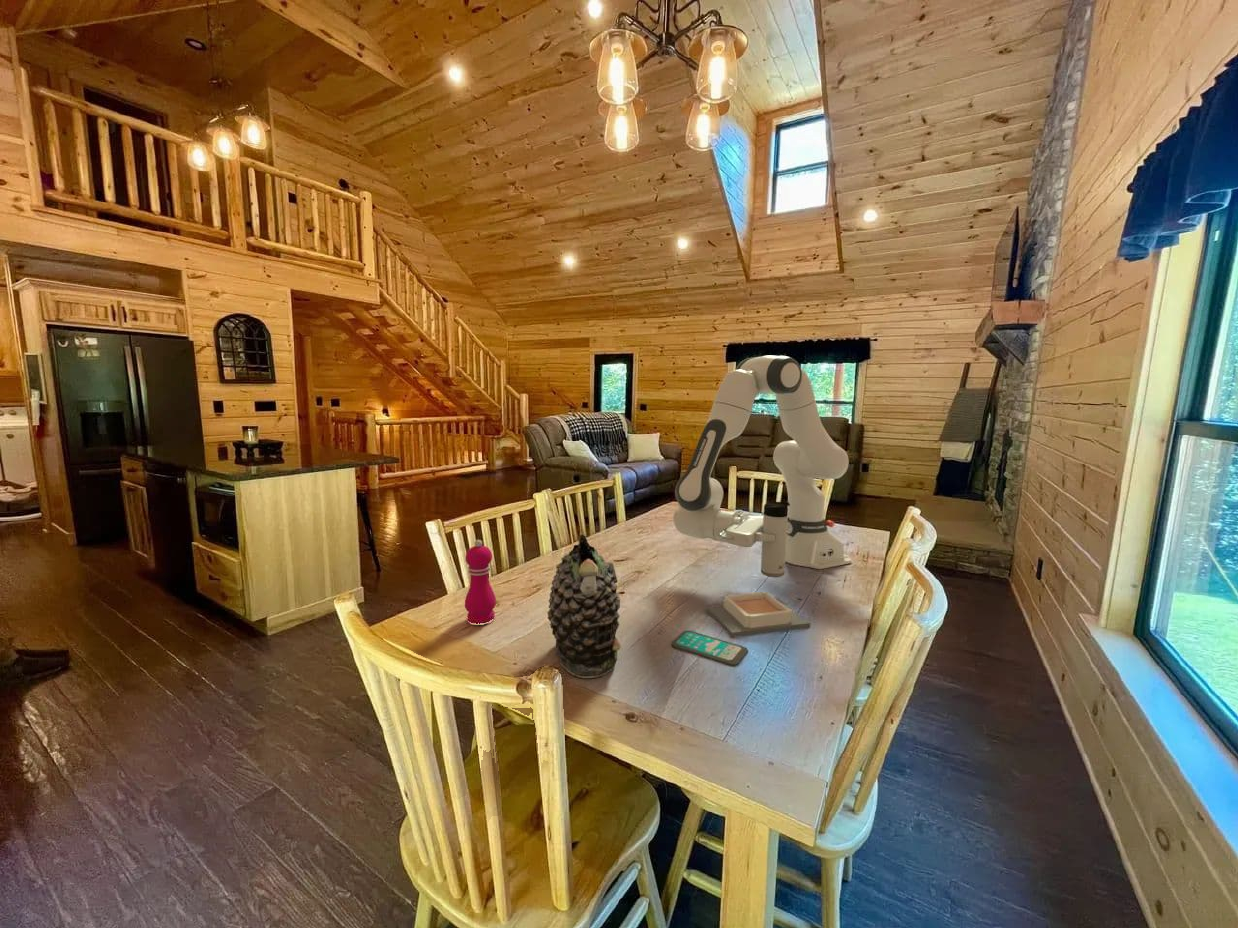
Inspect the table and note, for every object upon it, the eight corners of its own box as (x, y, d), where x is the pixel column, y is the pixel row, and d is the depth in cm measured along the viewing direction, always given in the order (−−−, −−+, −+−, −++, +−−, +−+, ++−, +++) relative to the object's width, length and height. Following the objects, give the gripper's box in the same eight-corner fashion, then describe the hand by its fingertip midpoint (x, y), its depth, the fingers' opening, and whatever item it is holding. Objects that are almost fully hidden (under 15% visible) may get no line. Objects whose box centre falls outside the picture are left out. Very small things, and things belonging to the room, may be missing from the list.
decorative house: (634, 678, 96) (636, 554, 92) (557, 690, 91) (555, 561, 88) (606, 628, 115) (607, 524, 112) (542, 637, 111) (540, 529, 107)
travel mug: (787, 578, 132) (791, 505, 129) (761, 576, 133) (764, 504, 130) (784, 570, 138) (788, 500, 135) (760, 568, 139) (763, 499, 136)
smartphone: (735, 665, 99) (669, 643, 107) (735, 669, 99) (669, 647, 107) (749, 647, 106) (686, 628, 114) (749, 651, 106) (686, 632, 115)
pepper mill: (502, 616, 121) (500, 537, 118) (485, 629, 114) (482, 546, 111) (477, 611, 123) (474, 534, 120) (459, 624, 117) (455, 542, 114)
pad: (763, 604, 126) (763, 598, 126) (783, 620, 117) (783, 614, 117) (731, 608, 124) (731, 602, 123) (749, 624, 115) (749, 618, 115)
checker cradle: (776, 602, 130) (777, 588, 129) (809, 627, 116) (810, 611, 116) (706, 610, 125) (706, 595, 124) (732, 637, 112) (733, 620, 111)
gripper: (716, 525, 131) (769, 533, 124) (739, 508, 148) (787, 514, 141) (715, 548, 132) (768, 557, 125) (739, 528, 149) (786, 535, 142)
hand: (778, 534), depth 133 cm, fingers closed on travel mug, 6 cm apart
